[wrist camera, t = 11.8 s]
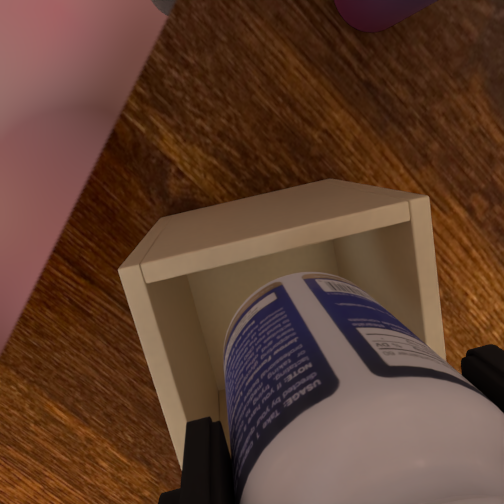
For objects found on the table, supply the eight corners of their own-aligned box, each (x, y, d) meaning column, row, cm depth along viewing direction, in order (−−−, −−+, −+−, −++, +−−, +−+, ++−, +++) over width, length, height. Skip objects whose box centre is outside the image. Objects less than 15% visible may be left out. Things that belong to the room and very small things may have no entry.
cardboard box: (160, 217, 26) (117, 269, 14) (331, 177, 26) (429, 195, 15) (209, 395, 29) (209, 559, 17) (360, 357, 30) (460, 490, 18)
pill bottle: (252, 436, 15) (331, 965, 5) (199, 300, 13) (166, 686, 4) (397, 383, 15) (743, 809, 5) (360, 243, 13) (744, 472, 4)
